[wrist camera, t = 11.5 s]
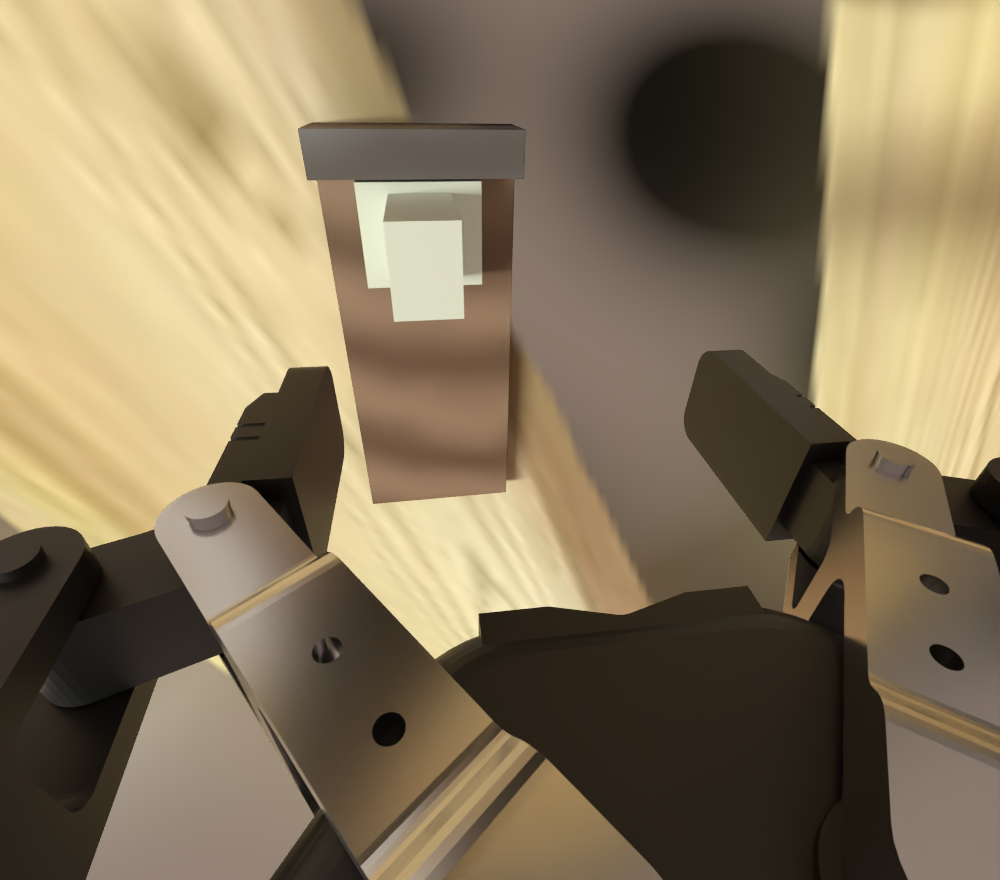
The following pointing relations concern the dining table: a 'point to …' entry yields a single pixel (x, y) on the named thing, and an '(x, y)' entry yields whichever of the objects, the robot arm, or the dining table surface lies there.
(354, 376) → the rail
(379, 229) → the block
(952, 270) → the dining table surface
